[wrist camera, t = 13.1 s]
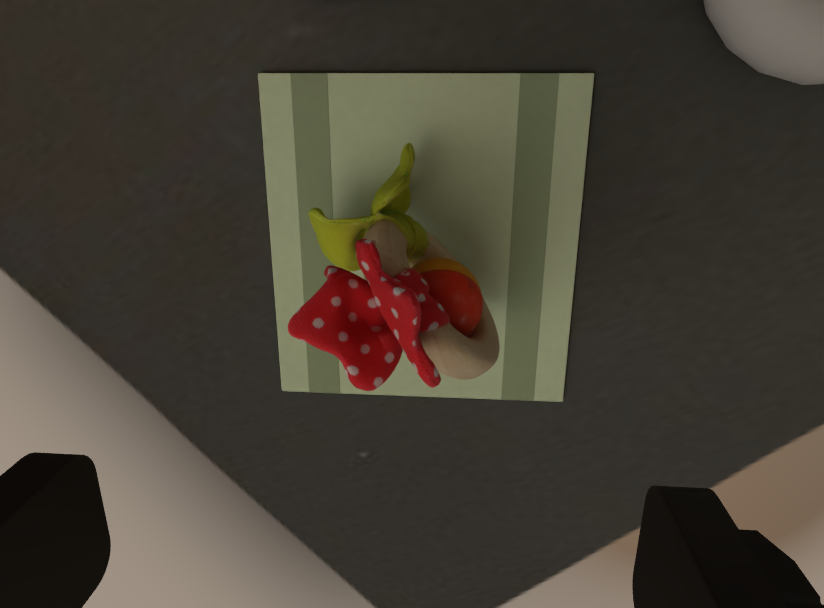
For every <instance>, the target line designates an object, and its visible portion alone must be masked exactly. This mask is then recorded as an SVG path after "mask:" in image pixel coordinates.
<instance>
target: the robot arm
mask: <svg viewBox="0 0 824 608" xmlns="http://www.w3.org/2000/svg"><path fill="white" fill-rule="evenodd" d="M110 546H111V545H110V535H109V531H108V526H107V521H106V516H105V511H104V507H103V502H102V497H101V492H100V487H99V482H98V477H97V472H96V469H95V465H94V463H93V461H92V460H91V459H90V458H89V457H88V456H85V455H72V454H53V453H30V454H28V455H26V456H24V457H23V458H21V459H20V460H19V461H18V462H17V463H15V464H14V465H13V466H12V467H11V468H9V469H8V470H7V471H6V472H5V473H3V474H2V475H1V476H0V608H82V607H83V605H84V604H85V603H86V601H87V600H88V599H89V597H90V596H91V595H92V593H93V592H94V590H95V589H96V588H97V586H98V585H99V583H100V581H101V580H102V578H103V575H104V573H105V571H106V568H107V565H108V561H109V556H110ZM633 601H634V608H824V605H822V604H821V603H820V596H819V595H818V594H817V592H816V591H815V589H814V588H813V587H812V585H811V584H810V582H809V581H808V580H807V578H806V577H805V575H804V574H803V573H802V571H801V570H800V569H799V567H798V566H797V564H796V563H795V561H794V560H792V559H791V558H790V557H789V556H787V555H786V554H785V553H784V552H782V551H781V550H780V549H779V548H777V547H776V546H775V545H774V544H773V543H771V542H770V541H769V540H768V539H766V538H765V537H764V536H763V535H762V534H760V533H759V532H758V531H756V530H739V529H738V528H737V526H736V525H735V523H734V522H733V520H732V519H731V517H730V515H729V514H728V512H727V510H726V509H725V507H724V506H723V504H722V503H721V501H720V499H719V498H718V496H717V495H716V494H715V492H714V491H712V490H711V489H707V488H688V487H669V486H651V487H650V488H649V490H648V492H647V495H646V499H645V504H644V510H643V516H642V522H641V529H640V535H639V541H638V547H637V554H636V559H635V565H634V572H633Z"/></svg>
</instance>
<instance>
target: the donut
mask: <svg viewBox="0 0 824 608" xmlns="http://www.w3.org/2000/svg"><path fill="white" fill-rule="evenodd" d="M703 2H704V7H705V11H706V15H707V16H708V18H709V20H710V21H711V23H712V25H713V26H714V28H715V30H716V31H717V33H718V34H719V36H720V38H721V39H722V41H723V43H724V44H725V46H726V47H727V49H728V50H730V51H731V52H732V53H734V54H735V55H736V56H738V57H739V58H740V59H742V60H743V61H744V62H745V63H747V64H748V65H749V66H751V67H752V68H753V69H755V70H756V71H757V72H760V73H763V74H767V75H770V76H773V77H777V78H780V79H784V80H787V81H791V82H794V83H797V84H801V85H812V84H824V0H703Z"/></svg>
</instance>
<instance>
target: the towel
mask: <svg viewBox="0 0 824 608" xmlns="http://www.w3.org/2000/svg"><path fill="white" fill-rule="evenodd" d="M258 81H259V94H260V108H261V121H262V134H263V147H264V161H265V174H266V187H267V200H268V214H269V227H270V240H271V253H272V266H273V280H274V293H275V306H276V319H277V333H278V346H279V359H280V372H281V386H282V391H295V392H317V393H347V394H373V395H399V396H425V397H451V398H477V399H502V400H525V401H555V402H563V394H564V384H565V374H566V363H567V353H568V342H569V332H570V322H571V311H572V301H573V291H574V280H575V270H576V259H577V249H578V239H579V228H580V218H581V207H582V197H583V187H584V176H585V166H586V156H587V145H588V135H589V124H590V114H591V104H592V93H593V83H594V73H258ZM407 143H411V144H412V146H413V148H414V152H415V160H414V163H413V167H412V171H411V175H410V184H409V187H410V196H411V200H410V206H409V209H408V211H407V212H406V213H405V214H406V215H409V216H411V217H412V219H413V220H415V221H417V222H418V223H419V224H420V225H421V226H422V227H423V228H424V229H425V230H426V231H428V232H429V233H430V234H431V235H432V236H434V237H435V238H436V239H437V240H438V241H439V242H441V243H442V244H443V245H444V246H445V247H446V248H447V249H448V250H449V251H450V252H451V253H452V255H453V256H454V257H455V258H456V259H457V260H458V261H459V263H460V264H462V265H463V266H465V267H466V268H467V269H468V270H469V271H470V272H471V273H472V274H473V275H474V276H475V278H476V279H477V282H478V284H479V286H480V289H481V294H482V297H483V298H484V300H485V302H486V304H487V306H488V308H489V311H490V313H491V315H492V317H493V320H494V322H495V326H496V329H497V332H498V337H499V344H500V351H499V356H498V359H497V361H496V363H495V364H494V365H493V366H492V367H491V368H490V369H489V370H488V371H487V372H485V373H483V374H482V375H480V376H478V377H476V378H474V379H469V380H461V379H456V378H452V377H449V376H446V375H444V374H442V373H440V372H439V374H440V377H441V382H440V384H439V385H438V386H436V387H434V388H432V387H430V386H428V385H427V384H426V383H424V381H423V380H422V379H421V377H420V376H419V375H418V373H417V372H416V370H415V369H414V367H413V365H412V363H411V362H410V361H409V360H408V358H407V356H406V355H405V353H404V351H403V352H402V355H401V358H400V360H399V363H398V364H397V366H396V368H395V370H394V371H393V373H392V374H391V376H390V377H389V378H388V379H387V380H386V381H385V382H384V383H383V384H382V385H381V386H379V387H378V388H376V389H375V390H372V391H364V390H361V389H358V388H356V387H355V386H353V385H352V383H351V382H350V381H349V379H348V377H347V375H346V372H345V369H344V366H343V364H342V363H341V361H340V360H339V359H338V358H337V357H336V356H335V355H333V354H331V353H328V352H326V351H323V350H320V349H318V348H316V347H314V346H312V345H310V344H308V343H306V342H303V341H301V340H299V339H297V338H295V337H293V336H291V335H290V334H289V332H288V323H289V321H290V319H291V318H292V316H293V315H294V314H295V312H296V311H297V310H298V309H299V308H301V307H302V306H303V305H304V304H305V303H306V302H307V301H308V300H309V299H310V298H311V297H312V296H313V295H314V294H315V293H316V292H317V291H318V290H319V289H320V288H321V287H322V286H323V284H324V283H325V282H326V280H327V277H326V276H325V275H324V271H325V269H326V267H327V266H329V265H332V266H336V265H334V264H333V263H332V262H331V261H330V260H329V259H328V258H327V257H326V256H325V255H324V253H323V252H322V250H321V247H320V245H319V243H318V240H317V234H316V233H315V231H314V229H313V226H312V224H311V221H310V218H309V214H308V212H309V211H310V209H312V208H320V209H321V210H322V211H323V213H324V215H325V217H327V218H329V219H340V218H357V217H363V216H370V214H371V206H372V202H373V199H374V196H375V194H376V192H377V191H378V189H379V188H380V187H381V186H382V185H383V184H384V183H385V182H386V181H387V180H388V179H389V178H390V177H391V175H392V174H393V173H394V171H395V170H396V168H397V167H398V166H399V164H400V159H401V152H402V149H403V147H404V146H405V145H406V144H407ZM336 267H338V266H336ZM350 272H352V273H354V274H356V275H358V276H359V277H361V278H363V279H364V276H363V272H362V270H361V269H360V270H357V271H350Z"/></svg>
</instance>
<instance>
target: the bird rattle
mask: <svg viewBox="0 0 824 608" xmlns="http://www.w3.org/2000/svg"><path fill="white" fill-rule="evenodd" d="M414 160H415V152H414V148H413V146H412V144H411V143H407V144H406V145H405V146H404V147H403V149H402V152H401V159H400V164H399V166H398V167H397V168H396V170H395V171H394V173H393V174H392V175H391V177H390V178H389V179H388V180H387V181H386V182H385V183H384V184H383V185H382V186H381V187H380V188H379V189H378V191H377V192H376V194H375V196H374V199H373V202H372V206H371V214H370V216H363V217H357V218H340V219H329V218H327V217H325V215H324V213H323V211H322V210H321V209H320V208H312V209H310V211H309V212H308V214H309V218H310V221H311V224H312V226H313V229H314V231H315V233H316V234H317V240H318V243H319V245H320V247H321V250H322V252H323V253H324V255H325V256H326V257H327V258H328V259H329V260H330V261H331V262H332V263H333V264H334V265H336V266H338V267H336V266H332V265H329V266H327V267H326V269H325V271H324V275H325V276H326V277H327V280H326V282H325V283H324V284H323V286H322V287H321V288H320V289H319V290H318V291H317V292H316V293H315V294H314V295H313V296H312V297H311V298H310V299H309V300H308V301H307V302H306V303H305V304H304V305H303V306H302V307H301V308H299V309H298V310H297V311H296V312H295V314H294V315H293V316H292V318H291V319H290V321H289V323H288V332H289V334H290V335H291V336H293V337H295V338H297V339H299V340H301V341H303V342H306V343H308V344H310V345H312V346H314V347H316V348H318V349H320V350H323V351H326V352H328V353H331V354H333V355H335V356H336V357H337V358H338V359H339V360H340V361H341V363H342V364H343V366H344V369H345V372H346V375H347V377H348V379H349V381H350V382H351V383H352V385H353V386H355V387H356V388H358V389H361V390H364V391H372V390H375V389H376V388H378V387H379V386H381V385H382V384H383V383H384V382H385V381H386V380H387V379H388V378H389V377H390V376H391V374H392V373H393V371H394V370H395V368H396V366H397V364H398V363H399V360H400V358H401V355H402V352H403V351H404V353H405V355H406V356H407V358H408V360H409V361H410V362H411V363H412V365H413V367H414V369H415V370H416V372H417V373H418V375H419V376H420V377H421V379H422V380H423V381H424V383H426V384H427V385H428V386H430V387H432V388H434V387H436V386H438V385H439V384H440V382H441V377H440V374H439V372H440V373H442V374H444V375H446V376H449V377H452V378H456V379H461V380H469V379H474V378H476V377H478V376H480V375H482V374H483V373H485V372H487V371H488V370H489V369H490V368H491V367H492V366H493V365H494V364H495V363H496V361H497V359H498V356H499V351H500V344H499V337H498V332H497V329H496V326H495V322H494V320H493V317H492V315H491V313H490V311H489V308H488V306H487V304H486V302H485V300H484V298H483V297H482V294H481V289H480V286H479V284H478V282H477V279H476V278H475V276H474V275H473V274H472V273H471V272H470V271H469V270H468V269H467V268H466V267H465V266H463V265H462V264H460V263H459V261H458V260H457V259H456V258H455V257H454V256H453V255H452V253H451V252H450V251H449V250H448V249H447V248H446V247H445V246H444V245H443V244H442V243H441V242H439V241H438V240H437V239H436V238H435V237H434V236H432V235H431V234H430V233H429V232H428V231H426V230H425V229H424V228H423V227H422V226H421V225H420V224H419V223H418V222H417V221H415V220H413V219H412V217H411V216H409V215H406V214H405V213H406V212H407V211H408V209H409V206H410V200H411V196H410V187H409V184H410V175H411V171H412V167H413V163H414ZM360 269H361V270H362V272H363V276H364V279H363V278H361V277H359V276H358V275H356V274H354V273H352V272H350V271H357V270H360Z"/></svg>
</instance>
